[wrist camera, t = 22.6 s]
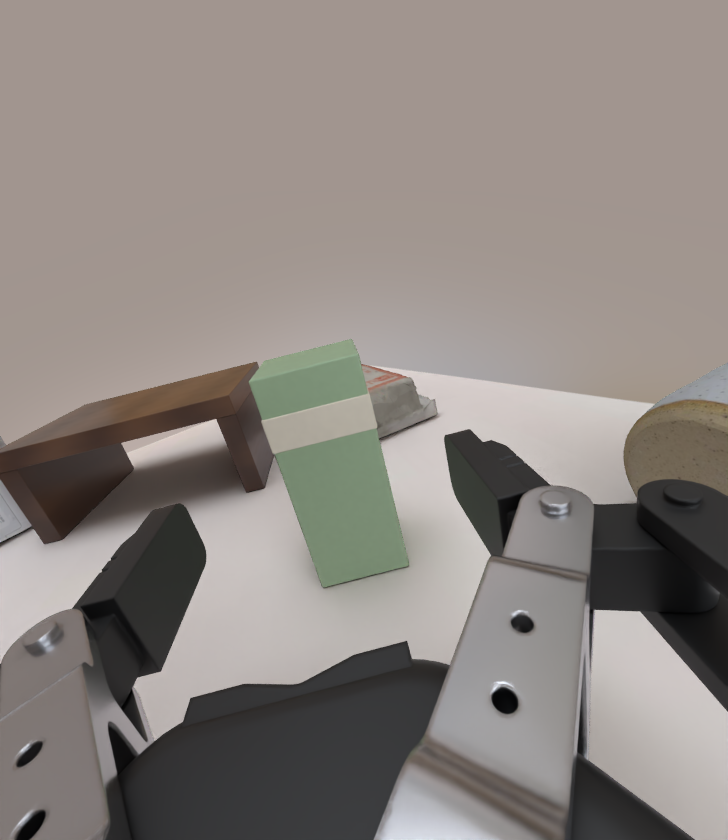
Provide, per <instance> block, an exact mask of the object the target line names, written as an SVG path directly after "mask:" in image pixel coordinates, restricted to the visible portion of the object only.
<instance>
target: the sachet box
mask: <svg viewBox="0 0 728 840" xmlns="http://www.w3.org/2000/svg"><path fill="white" fill-rule="evenodd" d="M249 385H250V387H251V390H252V393H253V396H254V398H255V401H256V404H257V407H258V410H259V412H260V415H261V418H262V421H261V423H262V426H263V428H264V431H265V434H266V437H267V439H268V442H269V445H270V448H271V450H272V453H273V454H275V457H276V460H277V462H278V465H279V468H280V471H281V474H282V476H283V479H284V482H285V485H286V487H287V490H288V493H289V496H290V499H291V501H292V504H293V507H294V510H295V512H296V515H297V518H298V521H299V524H300V526H301V529H302V532H303V535H304V538H305V540H306V543H307V546H308V549H309V551H310V554H311V557H312V560H313V563H314V565H315V568H316V571H317V574H318V576H319V579H320V582H321V585H322V587H328V586H332V585H335V584H339V583H343V582H347V581H351V580H355V579H359V578H363V577H367V576H371V575H375V574H378V573H382V572H386V571H390V570H394V569H398V568H402V567H406V566H409V562H408V558H407V554H406V549H405V545H404V541H403V537H402V533H401V528H400V524H399V520H398V516H397V512H396V508H395V503H394V499H393V495H392V491H391V487H390V483H389V478H388V474H387V470H386V466H385V462H384V457H383V453H382V449H381V445H380V441H379V437H378V432H377V423H376V419H375V415H374V410H373V406H372V402H371V398H370V394H369V391H368V389H367V386H366V382H365V378H364V374H363V370H362V366H361V361H360V357H359V354H358V352H357V349H356V347H355V345H354V343H353V340H352V339H350V340H346V341H342V342H338V343H334V344H330V345H326V346H322V347H318V348H314V349H310V350H306V351H302V352H298V353H294V354H290V355H286V356H282V357H278V358H274V359H270V360H266V361H264V362H263V364H262V365H261V366H260V368H259V369H258V370H257V371H256V373H255V374H254V375H253V377H252V378H251V379H250V380H249Z"/></svg>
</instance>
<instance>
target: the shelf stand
mask: <svg viewBox="0 0 728 840" xmlns="http://www.w3.org/2000/svg"><path fill="white" fill-rule="evenodd" d="M258 369H259V367H258V364H257V362H253V363H249V364H246V365H241V366H237V367H233V368H230V369H226V370H222V371H218V372H214V373H210V374H206V375H202V376H198V377H194V378H190V379H186V380H182V381H178V382H174V383H170V384H166V385H162V386H158V387H154V388H150V389H146V390H142V391H138V392H134V393H130V394H126V395H122V396H118V397H114V398H110V399H106V400H102V401H98V402H94V403H90V404H86V405H84V406H82V407H80V408H78V409H76V410H74V411H72V412H70V413H68V414H66V415H64V416H62V417H60V418H58V419H57V420H55V421H53V422H51V423H49V424H47V425H45V426H43V427H41V428H39V429H37V430H35V431H33V432H31V433H29V434H28V435H25V436H24V437H22V438H20V439H18V440H16V441H14V442H12V443H10V444H8V445H6V446H4V447H2V448H0V480H1V481H2V483H3V484H4V486H5V487H6V489H7V490H8V492H9V493H10V495H11V496H12V498H13V499H14V500H15V502H16V503H17V505H18V506H19V508H20V509H21V511H22V512H23V514H24V515H25V517H26V518H27V520H28V521H29V522H30V524H31V525H32V527H33V528H34V530H35V531H36V533H37V534H38V536H39V537H40V539H41V540H42V541H43V543H44V544H46V543H50V542H54V541H58V540H62V539H63V538H64V537H65V536H66V535H67V534H68V533H69V532H70V531H71V530H72V529H73V528H74V527H75V526H76V525H77V524H78V523H79V522H80V521H81V520H82V519H83V518H84V517H85V516H86V515H87V514H89V513H90V512H91V511H92V510H93V509H94V508H95V507H96V506H97V505H98V504H99V503H100V502H101V501H102V500H103V499H104V498H105V497H106V496H107V495H108V494H109V493H110V492H111V491H112V490H113V489H114V488H115V487H116V486H117V485H118V484H119V483H120V482H121V481H122V480H123V479H124V478H125V477H126V476H127V475H128V474H129V473H130V472H131V471H132V470H133V469H134V467H133V465H132V464H131V462H130V460H129V458H128V456H127V454H126V452H125V450H124V448H123V446H122V445H121V443H122V442H126V441H130V440H134V439H138V438H142V437H146V436H150V435H154V434H158V433H162V432H166V431H169V430H174V429H177V428H182V427H186V426H189V425H193V424H197V423H201V422H205V421H209V420H213V419H217V422H218V424H219V427H220V429H221V432H222V434H223V436H224V439H225V441H226V444H227V446H228V449H229V451H230V454H231V456H232V459H233V461H234V463H235V466H236V468H237V471H238V473H239V476H240V478H241V481H242V483H243V486H244V488H245V490H246V492H250V491H254V490H258V489H262V488H264V487H265V484H266V480H267V477H268V473H269V470H270V466H271V463H272V460H273V456H274V454H273V453H272V450H271V448H270V445H269V442H268V439H267V437H266V434H265V431H264V428H263V426H262V423H261V421H262V418H261V415H260V412H259V410H258V407H257V404H256V401H255V398H254V396H253V393H252V390H251V387H250V385H249V380H250V379H251V378H252V377H253V375H254V374H255V373H256V371H257V370H258Z"/></svg>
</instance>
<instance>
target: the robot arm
mask: <svg viewBox="0 0 728 840" xmlns="http://www.w3.org/2000/svg"><path fill="white" fill-rule="evenodd" d="M444 442H445V448H446V454H447V460H448V466H449V472H450V478H451V483H452V487H453V490H454V493H455V496H456V498H457V500H458V502H459V503H460V505H461V507H462V508H463V510H464V512H465V513H466V515H467V517H468V518H469V520H470V521H471V523H472V525H473V526H474V528H475V530H476V531H477V533H478V534H479V536H480V538H481V539H482V541H483V543H484V544H485V546H486V548H487V549H488V551H489V552H490V554H491V557H490V558H489V560H488V562H487V565H486V567H485V570H484V573H483V576H482V578H481V581H480V584H479V587H478V589H477V592H476V595H475V598H474V600H473V603H472V606H471V609H470V611H469V614H468V617H467V620H466V622H465V625H464V628H463V631H462V634H461V636H460V639H459V642H458V645H457V647H456V650H455V653H454V656H453V658H452V661H451V664H450V665H447V664H443V663H440V662H436V661H429V660H416V659H412V658H411V654H410V650H409V646H408V643H407V641H405V642H401V643H397V644H393V645H390V646H386V647H382V648H378V649H375V650H371V651H367V652H363V653H359V654H356V655H353V656H351V657H349V658H347V659H346V660H344V661H342V662H340V663H338V664H336V665H334V666H332V667H331V668H329V669H327V670H325V671H323V672H321V673H319V674H317V675H316V676H314V677H312V678H310V679H308V680H306V681H304V682H302V683H299V684H294V685H281V684H242V685H238V686H235V687H231V688H227V689H223V690H220V691H216V692H212V693H208V694H204V695H201V696H197V697H193V698H191V699H190V702H189V705H188V708H187V711H186V714H185V717H184V721H183V722H182V723H181V724H179V725H177V726H176V727H174V728H172V729H171V730H169V731H168V732H166V733H165V734H163V735H162V736H161V737H159V738H158V739H157V740H156V741H154V738H153V735H152V732H151V729H150V726H149V723H148V720H147V717H146V714H145V711H144V708H143V705H142V702H141V699H140V696H139V694H138V693H137V691H136V690H135V688H134V687H133V685H134V683H135V681H136V679H137V677H141V676H145V675H149V674H153V673H156V672H160V671H161V670H162V667H163V665H164V663H165V660H166V658H167V655H168V653H169V651H170V648H171V646H172V643H173V641H174V639H175V636H176V634H177V632H178V629H179V627H180V624H181V622H182V620H183V617H184V615H185V612H186V610H187V608H188V605H189V603H190V600H191V598H192V596H193V593H194V591H195V589H196V586H197V584H198V581H199V579H200V577H201V574H202V572H203V569H204V567H205V564H206V550H205V546H204V544H203V541H202V539H201V537H200V535H199V533H198V531H197V529H196V527H195V525H194V523H193V521H192V519H191V517H190V515H189V513H188V511H187V509H186V507H185V506H184V505H182V504H175V505H171V506H167V507H163V508H159V509H155V510H153V511H152V512H151V513H150V514H149V515H148V517H147V518H146V519H145V521H144V522H143V523H142V525H141V526H140V527H139V529H138V530H137V531H136V533H135V534H133V535H132V536H131V537H130V538H129V539H127V540H126V541H125V542H124V543H123V544H122V545H121V546H120V547H119V548H118V550H117V551H116V552H115V554H114V555H113V556H112V558H111V561H108V563H107V564H106V565H105V567H104V568H103V569H102V573H99V574H98V576H97V577H96V578H95V580H94V581H93V582H92V584H91V585H90V586H89V587H88V589H87V590H86V591H85V593H84V594H83V595H82V596H81V598H80V599H79V600H78V602H77V603H76V604H75V606H74V607H73V608H72V609H70V610H65V611H62V612H59V613H56V614H54V615H52V616H50V617H48V618H46V619H44V620H43V621H41V622H39V623H38V624H36V625H35V626H33V627H32V628H31V629H29V630H28V631H27V632H26V633H24V634H23V635H22V636H21V637H20V638H19V639H18V640H17V641H16V642H15V643H14V644H13V645H12V646H11V647H10V648H9V649H8V651H7V652H6V654H5V655H4V657H3V659H2V663H1V664H0V840H695V839H693V838H692V837H691V836H689V835H688V834H687V833H685V832H684V831H683V830H681V829H680V828H679V827H677V826H676V825H675V824H673V823H672V822H670V821H669V820H668V819H666V818H665V817H664V816H662V815H661V814H660V813H658V812H657V811H656V810H654V809H653V808H652V807H650V806H649V805H648V804H646V803H645V802H644V801H642V800H641V799H640V798H638V797H637V796H636V795H634V794H633V793H632V792H630V791H629V790H627V789H626V788H625V787H623V786H622V785H621V784H619V783H618V782H617V781H615V780H614V779H613V778H611V777H610V776H609V775H607V774H606V773H605V772H603V771H602V770H601V769H599V768H598V767H597V766H595V765H594V764H593V763H591V762H590V761H589V738H590V698H591V674H592V655H593V636H594V616H595V610H618V611H640V612H641V613H642V614H643V615H644V616H645V617H646V618H647V620H648V621H649V622H650V623H651V624H652V625H653V627H654V628H655V629H656V630H657V631H658V632H659V633H660V635H661V636H662V637H663V638H664V639H665V640H666V641H667V643H668V644H669V645H670V646H671V647H672V648H673V649H674V651H675V652H676V653H677V654H678V655H679V656H680V657H681V659H682V660H683V661H684V662H685V663H686V664H687V665H688V667H689V668H690V669H691V670H692V671H693V672H694V673H695V675H696V676H697V677H698V678H699V679H700V680H701V681H702V683H703V684H704V685H705V686H706V687H707V688H708V690H709V691H710V692H711V693H712V694H713V695H714V696H715V698H716V699H717V700H718V701H719V702H720V703H721V704H722V706H723V707H724V708H725V709H726V710H727V711H728V496H726V495H725V494H723V493H721V492H719V491H718V490H716V489H714V488H711V487H709V486H706V485H703V484H700V483H696V482H692V481H686V480H678V479H662V480H655V481H651V482H648V483H646V484H644V485H643V486H641V487H640V488H639V490H638V492H637V503H631V504H606V505H598V504H593V502H592V501H591V500H590V498H589V497H587V496H586V495H585V494H583V493H582V492H580V491H577V490H575V489H572V488H568V487H563V486H551V485H550V484H548V483H547V482H546V481H545V480H544V479H543V478H542V477H541V476H540V475H538V474H537V473H536V472H535V471H534V470H533V469H532V468H531V467H530V466H528V465H527V464H526V463H524V461H523V460H522V459H521V458H519V457H518V456H516V454H515V453H514V452H513V451H512V450H511V449H509V448H508V447H507V446H506V445H503V444H500V443H498V442H495V441H492V440H490V441H486V442H482V441H481V440H480V439H479V438H478V437H477V436H476V435H475V434H474V433H473V432H472V431H471V430H470V429H468V430H464V431H460V432H456V433H453V434H449V435H445V437H444Z"/></svg>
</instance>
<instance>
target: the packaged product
mask: <svg viewBox="0 0 728 840" xmlns="http://www.w3.org/2000/svg"><path fill="white" fill-rule="evenodd" d="M361 366H362V370H363V374H364V378H365V382H366V386H367V389H368V391H369V394H370V398H371V402H372V406H373V410H374V415H375V419H376V423H377V432H378V437H379V438H381V437H384V436H386V435H389V434H391V433H394V432H396V431H399V430H401V429H403V428H406V427H408V426H410V425H413V424H415V423H418V422H420V421H422V420H425V419H427V418H430V417H432V416H434V415H437V414H438V413H437V408H436V402H435V399H434V400H430V399H429V398H428V397H424V396H421V395H418V394H417V392H416V388H417V387H416V386H415V385H414V382H413V380H412V379H411V378H409V377H406V376H402V375H401V374H396V373H392V372H389V371H386V370H382V369H379V368H375V367H371V366H367V365H363V364H361Z"/></svg>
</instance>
